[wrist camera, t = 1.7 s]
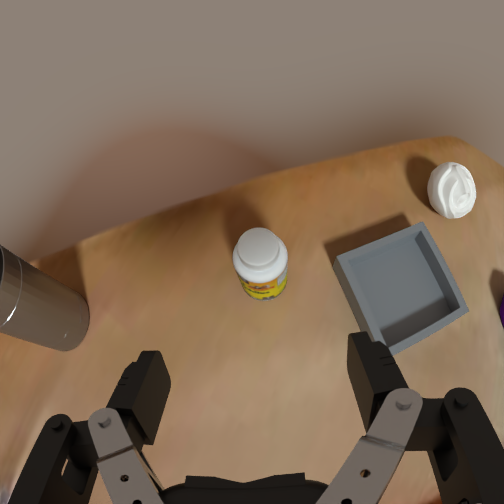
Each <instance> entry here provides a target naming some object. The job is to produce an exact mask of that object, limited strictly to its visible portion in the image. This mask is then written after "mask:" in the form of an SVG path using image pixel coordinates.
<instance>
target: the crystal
mask: <svg viewBox="0 0 504 504" xmlns="http://www.w3.org/2000/svg"><path fill="white" fill-rule="evenodd" d="M500 316H501V321H502V324H503V327H504V295H503V299H502V303H501V306H500Z"/></svg>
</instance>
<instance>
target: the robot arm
mask: <svg viewBox="0 0 504 504" xmlns="http://www.w3.org/2000/svg"><path fill="white" fill-rule="evenodd" d="M88 325H89V310H88V306H87V304H86V302H85V300H84V298H83V297H82V296H81V295H80V294H79V293H77V292H76V291H74V290H72V289H70V288H69V287H67V286H65V285H63V284H62V283H60V282H58V281H57V280H55V279H53V278H52V277H50V276H48V275H47V274H45V273H43V272H42V271H40V270H39V269H37V268H35V267H34V266H32V265H30V264H29V263H27V262H26V261H24V260H23V259H21V258H20V257H18V256H16V255H15V254H13V253H12V252H10V251H9V250H7V249H6V248H4V247H3V246H1V245H0V332H1V333H4V334H7V335H10V336H13V337H16V338H19V339H22V340H25V341H28V342H32V343H35V344H38V345H42V346H45V347H49V348H52V349H56V350H60V351H69V350H72V349H74V348H75V347H77V346H78V345H79V344H80V343H81V341H82V340H83V338H84V337H85V334H86V332H87V329H88ZM347 370H348V375H349V378H350V381H351V384H352V388H353V391H354V394H355V397H356V400H357V404H358V407H359V410H360V414H361V417H362V420H363V424H364V427H365V431H366V433H367V434H366V435H365V436H362V437H361V438H360V439H359V441H358V442H357V444H356V446H355V447H354V449H353V450H352V452H351V454H350V455H349V457H348V458H347V460H346V461H345V463H344V464H343V466H342V467H341V469H340V470H339V472H338V473H337V475H336V476H335V478H334V479H333V481H332V482H331V483H330V485H327V484H325V483H322V482H318V481H313V480H305V473H295V474H284V475H274V476H270V477H266V478H263V479H259V480H255V481H251V482H246V483H240V482H235V481H230V480H226V479H221V478H217V477H205V476H186V480H185V483H182V484H178V485H174V486H171V487H169V488H167V489H165V488H164V487H163V486H162V484H161V483H160V481H159V479H158V478H157V476H156V474H155V473H154V471H153V469H152V467H151V466H150V464H149V462H148V460H147V458H146V457H145V455H144V453H143V451H142V447H143V444H146V445H153V444H154V440H155V437H156V434H157V430H158V427H159V424H160V421H161V417H162V414H163V411H164V408H165V404H166V401H167V398H168V395H169V392H170V388H171V380H170V376H169V373H168V370H167V368H166V365H165V363H164V360H163V357H162V354H161V352H160V351H142V352H141V354H140V356H139V358H138V360H137V362H132V363H131V364H130V365H129V366H128V367H127V368H126V369H125V370H124V372H123V374H122V376H121V379H120V380H119V382H118V386H116V388H115V390H114V392H113V394H112V396H111V398H110V400H109V402H108V404H107V406H106V408H102V409H99V410H97V411H95V412H94V413H93V414H92V415H91V416H90V418H89V420H87V421H80V422H72V420H71V419H70V418H69V417H68V416H67V415H65V414H57V415H54V416H52V417H51V418H49V419H48V420H47V421H46V423H45V425H44V427H43V429H42V431H41V433H40V435H39V437H38V439H37V441H36V443H35V445H34V447H33V449H32V451H31V453H30V455H29V457H28V459H27V461H26V463H25V465H24V467H23V470H22V472H21V474H20V476H19V478H18V481H17V483H16V485H15V488H14V490H13V492H12V495H11V497H10V499H9V502H8V504H88V503H89V500H90V496H91V493H92V490H93V486H94V483H95V480H96V477H97V474H98V470H99V471H100V474H101V476H102V479H103V481H104V484H105V486H106V489H107V491H108V493H109V496H110V498H111V500H112V503H113V504H378V503H379V501H380V499H381V498H382V496H383V494H384V492H385V490H386V488H387V486H388V484H389V483H390V481H391V479H392V477H393V475H394V473H395V471H396V469H397V467H398V465H399V463H400V461H401V458H402V456H403V454H404V452H405V451H427V453H428V456H429V459H430V462H431V465H432V468H433V472H434V475H435V478H436V482H437V485H438V489H439V492H440V496H441V500H442V503H443V504H504V449H503V447H502V444H501V442H500V440H499V438H498V436H497V434H496V432H495V430H494V428H493V426H492V424H491V422H490V420H489V418H488V416H487V415H486V413H485V411H484V409H483V407H482V405H481V403H480V402H479V400H478V398H477V396H476V395H475V393H474V392H472V391H471V390H469V389H466V388H454V389H452V390H450V391H448V392H447V394H446V395H445V397H444V398H437V399H428V398H422V397H421V396H420V394H419V393H418V392H416V391H414V390H412V389H409V387H408V385H407V383H406V381H405V379H404V377H403V375H402V373H401V371H400V369H399V367H398V365H397V364H396V362H395V360H394V358H393V357H392V354H391V352H390V350H389V348H388V347H387V346H386V345H385V344H383V343H382V342H381V341H375V342H372V341H371V339H370V337H369V335H368V333H367V331H363V332H357V333H351V334H349V335H348V351H347ZM66 459H68V463H67V465H66V468H65V470H64V473H63V475H61V472H62V469H63V466H64V464H65V461H66Z"/></svg>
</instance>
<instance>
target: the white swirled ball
mask: <svg viewBox="0 0 504 504" xmlns="http://www.w3.org/2000/svg"><path fill="white" fill-rule="evenodd" d="M427 192H428V197H429V202H430V204H431V206H432V207H433V208H434V209H435V211H437V212H438V213H439V214H440V215H442V216H444V217H446V218H460V217H462V216H464V215H466V214H467V213H468V212H470V211H471V209H472V207H473V205H474V202H475V199H476V189H475V184H474V181H473V178H472V176H471V174H470V172H469V171H468V169H467V168H465V167H464V166H463V165H461V164H458V163H455V162H447V163H443V164H441V165H439V166H438V167H436V168H435V169H434V170H433V171H432V172H431V176H430V178H429V181H428V186H427Z"/></svg>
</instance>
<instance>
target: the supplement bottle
mask: <svg viewBox="0 0 504 504" xmlns="http://www.w3.org/2000/svg"><path fill="white" fill-rule="evenodd" d="M287 261H288V255H287V249H286V247H285V245H284V243H283V242H282V240H281V239H280V238H279V237H277V236H276V235H275V234H274V233H273V232H271V231H270V230H268V229H265V228H252V229H250V230H247V231H246V232H244V233H243V234H242V235H241V237H240V238H239V240H238V243H237V244H236V246H235V248H234V251H233V264H234V267H235V270H236V272H237V274H238V277H239V279H240V282H241V284H242V287H243V289H244V290H245V292H246V293H247V294H248V295H249V296H250V297H252V298H254V299H256V300H260V301H267V300H272V299H274V298H276V297H277V296H279V295H280V294H281V293H282V292H283V290H284V288H285V286H286V283H287Z"/></svg>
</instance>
